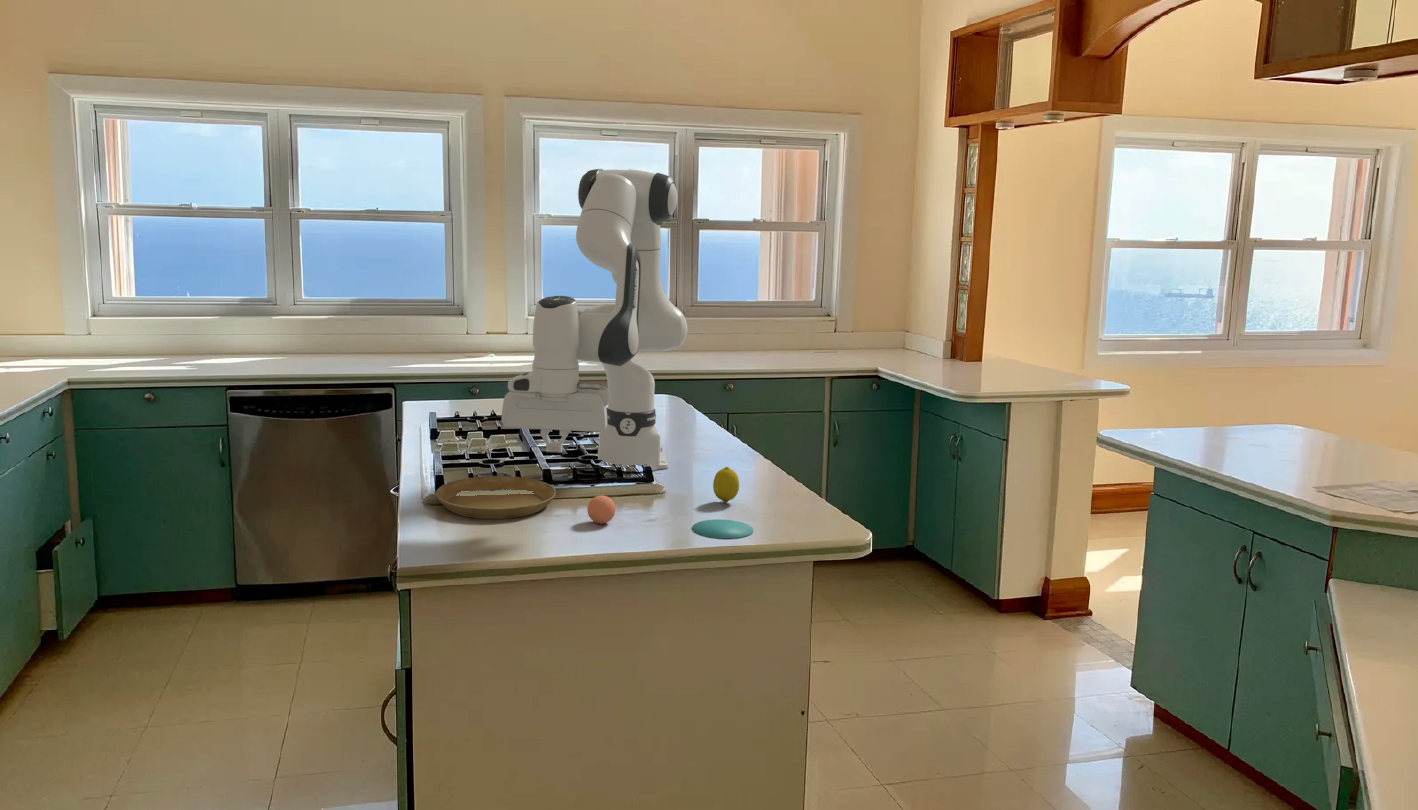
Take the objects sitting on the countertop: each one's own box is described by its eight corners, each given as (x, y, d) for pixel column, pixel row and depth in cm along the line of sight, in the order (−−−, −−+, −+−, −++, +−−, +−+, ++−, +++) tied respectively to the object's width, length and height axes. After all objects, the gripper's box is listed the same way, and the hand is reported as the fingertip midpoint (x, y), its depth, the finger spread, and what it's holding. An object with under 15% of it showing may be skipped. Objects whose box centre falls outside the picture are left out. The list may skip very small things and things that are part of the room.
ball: (589, 518, 205) (590, 491, 204) (616, 519, 204) (617, 493, 203) (585, 526, 199) (585, 499, 198) (613, 527, 199) (613, 500, 198)
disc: (694, 518, 207) (694, 518, 207) (753, 522, 207) (753, 521, 207) (690, 537, 195) (690, 536, 195) (753, 540, 195) (753, 539, 195)
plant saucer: (556, 523, 202) (556, 506, 201) (430, 524, 198) (430, 507, 197) (554, 490, 225) (554, 475, 225) (441, 490, 221) (441, 475, 221)
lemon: (735, 507, 217) (737, 470, 215) (710, 505, 218) (711, 468, 216) (740, 500, 222) (742, 465, 220) (715, 498, 223) (716, 462, 222)
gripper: (611, 381, 200) (609, 450, 202) (507, 376, 201) (506, 445, 203) (607, 386, 194) (605, 457, 196) (499, 381, 194) (499, 452, 197)
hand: (554, 451), depth 199 cm, fingers closed
